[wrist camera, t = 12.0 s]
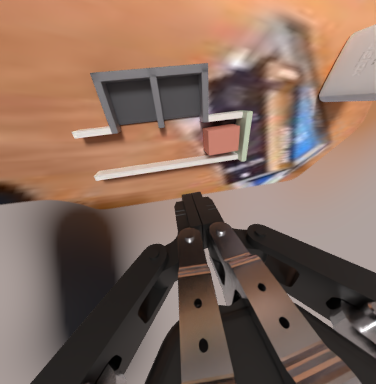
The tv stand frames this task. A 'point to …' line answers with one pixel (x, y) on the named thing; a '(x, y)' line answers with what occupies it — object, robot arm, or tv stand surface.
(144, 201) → the tv stand surface
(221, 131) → the red block
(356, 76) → the photo printer
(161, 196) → the tv stand surface
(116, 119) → the box
